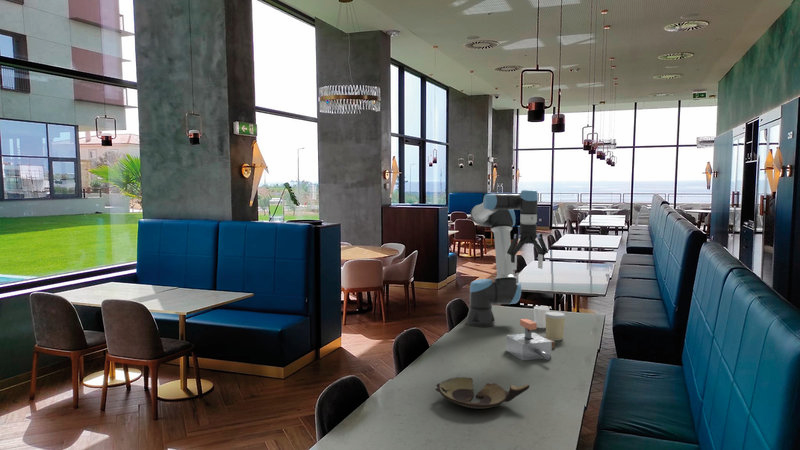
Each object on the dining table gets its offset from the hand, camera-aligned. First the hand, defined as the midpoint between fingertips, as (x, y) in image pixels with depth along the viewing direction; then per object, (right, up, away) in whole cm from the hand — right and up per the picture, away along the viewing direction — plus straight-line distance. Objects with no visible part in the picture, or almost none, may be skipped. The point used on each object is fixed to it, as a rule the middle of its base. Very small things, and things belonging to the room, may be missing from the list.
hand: (527, 269), depth 250 cm
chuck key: (-3, -33, -15) cm, 36 cm away
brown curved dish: (-32, -41, -69) cm, 86 cm away
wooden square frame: (+6, -35, -4) cm, 36 cm away
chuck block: (-2, -36, -19) cm, 41 cm away
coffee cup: (+15, -34, +10) cm, 39 cm away
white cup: (+14, -33, +30) cm, 47 cm away
